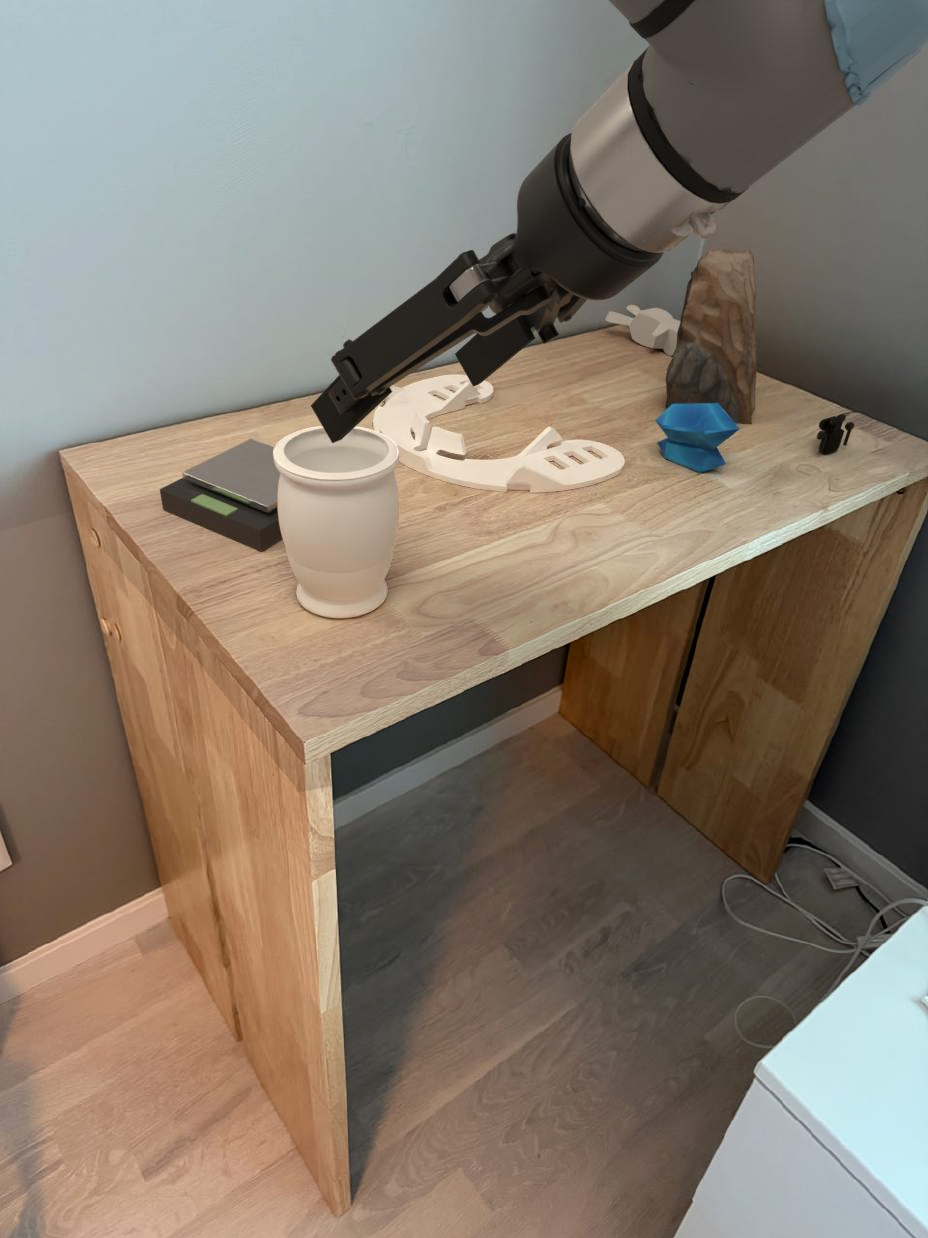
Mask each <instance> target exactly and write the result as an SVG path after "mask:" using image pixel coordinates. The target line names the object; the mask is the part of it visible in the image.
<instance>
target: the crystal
mask: <svg viewBox="0 0 928 1238" xmlns="http://www.w3.org/2000/svg"><path fill="white" fill-rule="evenodd" d="M654 421H655V423H656V424H657V425H658V426H659V428H660V429H661V431H662V432H663V433H664V435H665V436H666V438H664V439H662V440H659V441H657V442H656V443H657V445H658V448H659V450H660V451H661V454H662V456H663V458H664V460H668V461H670V462H672V463H675V464H677V465H680V466H682V467H685V468H686V469H689V470H692V471H694V472H697V473H698V474H702V473H705V472H708V471H711V470H713V469H717V468H720V467H722V466H725V465H727V463H726V460H725V459H724V457H723V455H722V453H721V452H720V450H719V449H718V447H719V446H720V445H721V444H723V443H724V442H726V441H727V440H728V439H729V438H730V437H732V436H733V435H735V434H736V433H737V432H738V431H740V427H739V426H738V425H737V423H735V422H734V421H733V420H732V419H731V418H730V416H729V415H728V414H727V413H726V412H725V410H724V409H723V408H722V407H721V406H720V404H719V403H678V404H672V405H671V406H670V407H669V408H666V409H665V410H664V411H663V412H662V413H661V414H660V415H659V416H658V417H657V418H655V420H654Z"/></svg>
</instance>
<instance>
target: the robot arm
mask: <svg viewBox="0 0 928 1238" xmlns="http://www.w3.org/2000/svg"><path fill="white" fill-rule="evenodd" d="M608 1H609V3H611V4H612V5H613V7H614V8H615V9H616V10H617V11H619V12H620V14H621V15H622V16H623V17H624V18H625V19H626V20H627V21H628V24H629V26H630V27H631V28H632V29H633V30H634V31H635V32H636V33H637V34H638V35H639V37H641V38H642V39H644V40H645V42H647V43H648V45H649V46H648V47H646V48H645V50H644V51H643V52H642V53H641V54H640V55H639V56H638V57H637V58H636V59H634V60H633V61H632V63H630V65H629V66H628V67H627V68H626V69H625V70H624V71H622V73H621V74H620V75H619V76H618V77H617V78H616V80H615V81H613V82H612V84H610V85H609V87H608V88H607V89H605V91H604V92H603V93H602V94H601V95H600V96H599V97H598V98H597V99H596V100H595V101H594V102H593V104H591V105H590V107H588V108H587V110H586V111H585V112H584V113H583V114H582V115H581V116H580V117H579V118H578V119H577V120H576V122H575V124H574V126H573V127H572V129H571V132H569V133H568V134H565V135H564V137H562V138H561V139H560V140H558V142H557V143H556V144H555V146H553V147H552V148H551V150H550V151H549V152H548V153H547V154H546V155H544V157H543V158H542V159H541V160H540V162H539V163H538V164H537V165H536V166H535V167H534V168H533V169H532V170H531V171H530V172H529V173H528V174H527V175H526V177H525V178H524V180H523V181H522V183H521V185H520V188H519V190H518V194H517V197H516V198H517V199H516V217H517V219H516V222H517V223H516V232H513V233H509V234H508V235H506V236H504V237H503V238H501V239H500V240H498V241H496V242H495V243H494V244H493V245H492V246H491V247H490V249H489V251H488V253H487V254H486V255H484V256H483V257H481V258H480V259H479V258H478V256H477V254H476V252H475V250H474V249H470V250H467V251H463V252H461V253H460V254H459V255H458V256H457V257H456V258H455V259H454V260H453V261H452V262H451V263H450V264H449V265H448V266H447V267H446V268H445V269H444V270H443V271H442V272H440V274H438V275H437V276H436V277H435V278H434V279H433V280H431V281H430V282H429V283H427V284H426V285H425V286H423V287H422V288H421V289H419V290H418V291H417V292H416V293H415V294H413V295H412V296H410V297H409V298H408V299H406V300H405V301H404V302H403V303H401V304H400V305H398V306H397V307H396V308H394V309H393V310H392V311H390V312H389V313H388V314H387V315H385V316H384V317H383V318H381V319H380V320H379V321H377V322H376V323H375V324H373V325H372V326H370V328H368V329H367V330H366V331H364V332H363V333H362V334H360V335H359V336H358V337H356V338H354V339H353V340H352V339H350V338H348V339H347V340H345V342H344V343H343V344H342V347H343V348H341V349H339V350H338V351H336V352H335V354H334V355H332V356H331V358H330V361H331V363H332V365H333V366H334V368H335V370H336V372H337V373H338V376H337V377H336V378H335V379H334V380H333V381H332V382H331V383H330V384H329V385H328V386H327V388H326V389H324V390H323V392H322V393H320V395H319V396H318V397H317V398H316V399H315V400H314V402H312V404H311V405H310V408H311V409H312V410H313V412H314V414H315V416H316V417H317V419H318V421H319V423H320V425H321V426H323V428H324V430H325V431H326V433H327V435H328V437H329V438H330V440H331V442H332V443H335V442H337V441H340V440H342V439H343V438H344V437H345V436H346V435H347V434H348V433H349V432H350V431H351V430H352V429H353V428H354V427H355V426H357V427H358V425H359V424H360V423H361V422H362V421H364V419H365V418H366V417H368V415H370V413H372V412H373V411H374V410H376V409H377V407H378V406H380V405H381V404H382V403H383V402H384V401H385V400H384V399H385V398H386V397H387V396H388V395H389V394H391V393H392V391H391V389H390V386H392V385H393V386H395V384H397V383H398V382H401V380H403V379H404V378H407V377H408V376H409V375H411V374H412V373H414V372H416V371H417V370H419V369H421V368H422V367H423V366H425V365H427V364H428V363H430V362H432V361H433V360H435V359H436V358H438V357H440V356H441V355H443V354H445V353H446V352H447V351H449V350H451V349H452V348H453V347H455V346H457V345H458V344H460V343H461V342H463V341H464V340H466V339H468V338H470V337H471V336H472V335H473V336H472V338H470V339H469V340H468V341H467V342H466V343H465V344H464V345H463V346H462V347H460V348H459V349H458V350H457V351H456V352H455V353H454V356H455V358H456V359H457V361H458V363H459V364H460V366H461V368H462V369H463V372H464V373H465V375H467V377H468V378H469V380H470V382H471V384H472V385H473V387H474V386H476V385H479V384H481V383H482V382H483V381H484V380H485V381H486V380H487V379H488V378H489V377H490V376H492V375H493V374H494V373H495V372H496V371H498V370H499V369H500V368H502V366H504V365H505V364H506V363H507V362H508V361H510V360H511V359H512V358H514V357H515V356H516V355H517V354H519V353H520V352H521V351H522V350H523V349H525V348H526V347H527V346H528V345H529V344H530V343H532V342H533V341H535V339H536V336H535V334H534V332H535V331H536V333H537V335H538V336H539V339H541V342H542V343H543V345H546V344H548V343H550V342H551V341H553V340H554V339H556V338H557V337H558V336H559V335H560V333H559V332H558V330H557V328H556V326H555V322H556V319H557V321H558V323H559V324H562V323H564V322H565V323H567V322H569V321H570V320H571V319H572V318H573V317H574V315H576V314H577V312H578V311H579V310H580V309H581V308H582V306H583V305H584V304H585V303H586V302H587V301H588V300H589V301H604V300H609V299H611V298H613V297H615V296H617V295H618V294H620V293H621V292H622V291H623V290H625V289H626V288H627V287H628V286H630V285H631V284H633V282H635V281H636V280H638V278H640V277H641V276H643V274H644V273H646V272H647V271H648V270H650V269H651V268H652V267H653V266H655V265H656V264H657V263H659V261H660V260H661V258H662V257H663V255H664V253H666V252H669V251H671V250H673V249H674V248H676V246H678V245H679V244H680V243H682V242H683V241H685V240H686V239H687V238H688V237H689V236H691V235H692V234H693V233H694V234H695V236H696V237H697V238H698V239H703V240H704V239H705V240H706V239H707V238H708V237H710V236H712V235H713V234H714V232H715V230H716V229H717V224H716V221H715V220H714V218H713V216H712V215H713V214H714V213H716V212H717V211H721V210H723V209H724V208H725V207H727V206H728V205H729V204H730V203H731V202H732V201H735V200H737V199H738V198H739V197H740V196H741V195H743V194H744V193H745V192H746V191H747V190H749V188H750V187H751V186H753V185H754V184H755V183H756V182H758V181H759V180H760V179H761V178H763V177H764V176H765V175H767V174H768V173H769V172H771V171H772V170H773V169H774V168H777V167H778V165H780V164H782V163H783V162H784V161H785V160H787V159H788V158H789V157H790V156H792V155H793V154H794V153H796V152H798V150H800V149H801V148H802V147H803V146H804V145H806V144H807V143H808V142H810V141H811V140H813V139H814V138H816V137H817V136H818V135H819V134H820V133H822V132H823V131H824V130H825V129H827V128H828V127H830V126H831V125H832V124H833V123H835V122H836V121H838V120H839V119H840V118H841V117H843V116H844V115H845V114H846V113H848V112H849V111H851V110H852V109H853V108H854V107H855V106H859V107H861V106H862V104H864V103H866V102H867V101H868V100H869V99H870V98H871V97H872V95H873V94H874V93H875V92H876V91H877V90H878V89H879V88H880V87H882V86H883V85H884V84H885V83H886V82H887V81H888V80H890V79H891V78H892V77H893V76H894V75H895V74H896V73H898V71H900V70H901V69H902V68H903V67H905V66H906V65H907V64H908V63H909V62H910V61H912V60H913V59H914V58H915V57H916V56H918V55H919V53H921V52H922V50H923V48H925V46H926V45H928V0H608ZM488 308H489V309H490V310H491V312H493V313H494V315H493V316H491V317H486V316H485V315H484V313H483V312H484V311H486V310H487V309H488ZM383 400H384V401H383ZM382 401H383V402H382Z"/></svg>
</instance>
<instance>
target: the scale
mask: <svg viewBox="0 0 928 1238" xmlns="http://www.w3.org/2000/svg"><path fill="white" fill-rule="evenodd" d="M159 494H160V499H161V505H162V511H165V512H168V513H170V514H171V515H174V516H177V517H178V518H181V519H184V520H186V521H189V522H191V523H193V524H195V525H197V526H200V527H203V528H205V529H207V530H209V531H212V532H214V533H216V534H218V535H221V536H224V537H225V538H228V539H231V540H233V541H235V542H237V543H240V544H242V545H245V546H246V547H248V548H249V547H250V548H251V549H254V550H256V551H259V552H261V553H262V552H264V551H266V550H268V549H269V548H271V547H272V546H274V545H276V544H277V543H279V542H281V541H283V538H282V535H281V530H280V525H279V519H278V508H276V509H275V510H273V511H271V512H269V513H267V512H264V511H262V510H259V509H257V508H254V507H252V506H249V505H247V504H244V503H242V502H239V501H237V500H234V499H232V498H229V497H227V496H224V495H222V494H219V493H217V492H215V491H212V490H210V489H207V488H205V487H202V486H200V485H197V484H195V483H192V482H190V481H187V480H185V479H183V477H182V478H180V479H178V480H176V481H173V482H171V483H169V484H167V485H165V486H163V487H161V488H159Z"/></svg>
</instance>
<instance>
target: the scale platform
mask: <svg viewBox="0 0 928 1238" xmlns="http://www.w3.org/2000/svg"><path fill="white" fill-rule="evenodd" d="M274 447H275V446H272V445H270V444H266V443H264V442H261V441H258V440H255V439H252V438H249V439H247V440H245V441H243V442H241V443H238V444H237V445H235V446H233V447H231V448H229V449H227V450H225V451H222V452H221V453H218V454H216V455H215V456H212V457H211V458H208V459H207V460H203V462H200V463H198V464H196V465H194V466H192V467H190V468H188V469H186V470H184V471H182V472H181V475H182V478H183V479H185V480H187V481H190V482H192V483H195V484H197V485H200V486H202V487H205V488H207V489H210V490H212V491H215V492H217V493H219V494H222V495H224V496H227V497H229V498H232V499H234V500H237V501H239V502H242V503H244V504H247V505H249V506H252V507H254V508H257V509H259V510H262V511H264V512H267V513H269V512H271V511H273V510H275V509H276V508H278V505H277V499H278V484H279V478H280V474H281V473H280V472H279V471H278V469H277V468H276V466H275V463H274V457H273V449H274Z"/></svg>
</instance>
